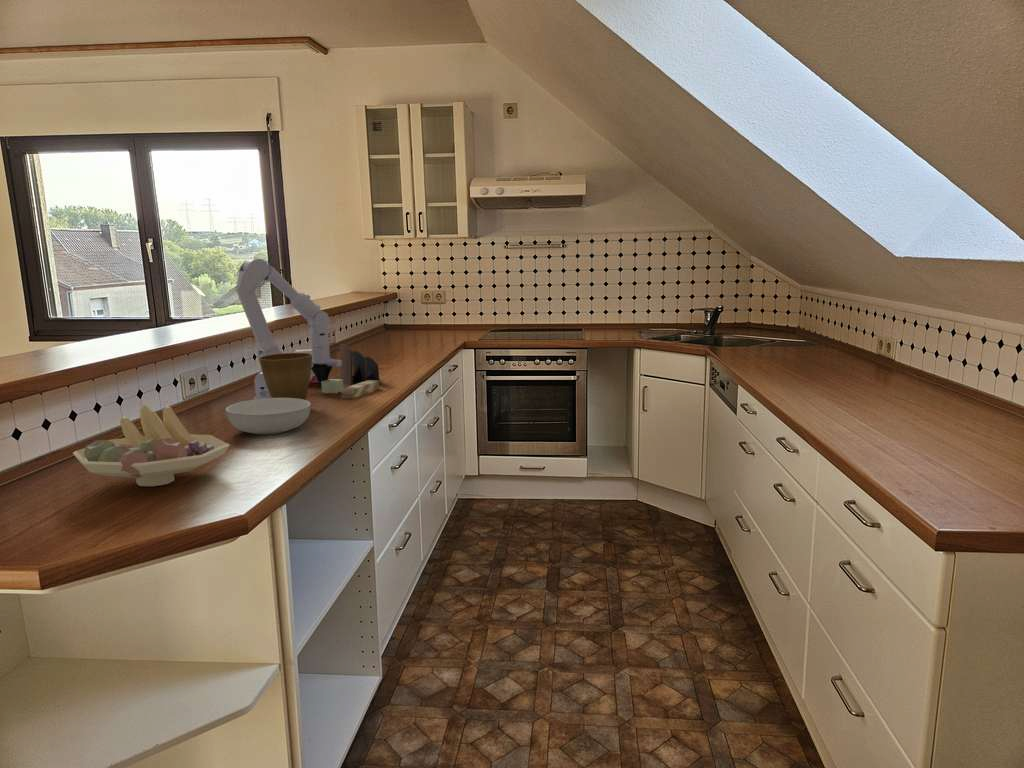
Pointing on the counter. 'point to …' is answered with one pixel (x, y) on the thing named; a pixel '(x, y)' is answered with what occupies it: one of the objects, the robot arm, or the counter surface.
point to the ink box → (312, 377)
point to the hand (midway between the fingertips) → (323, 386)
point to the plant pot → (287, 374)
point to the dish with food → (151, 450)
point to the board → (360, 389)
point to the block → (332, 385)
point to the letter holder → (357, 367)
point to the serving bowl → (268, 415)
